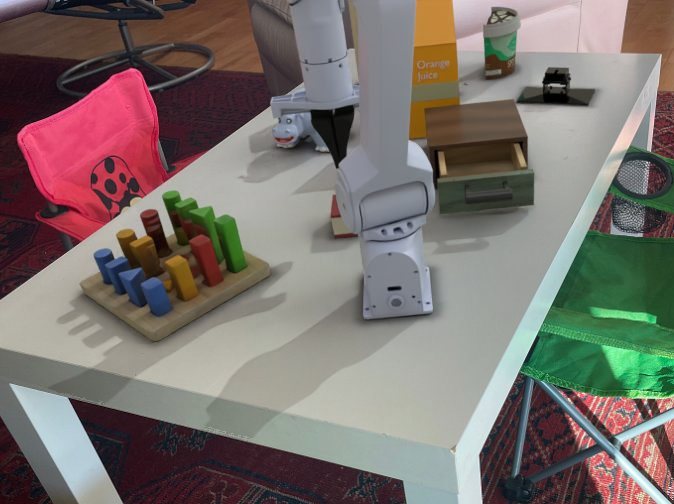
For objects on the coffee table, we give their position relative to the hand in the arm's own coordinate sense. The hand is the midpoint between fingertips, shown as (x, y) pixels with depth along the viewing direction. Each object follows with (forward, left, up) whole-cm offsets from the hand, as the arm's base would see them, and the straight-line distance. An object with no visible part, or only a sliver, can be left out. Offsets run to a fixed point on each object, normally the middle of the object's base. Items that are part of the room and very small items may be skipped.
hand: (341, 164), depth 97 cm
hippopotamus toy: (+29, +8, -9) cm, 31 cm away
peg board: (-11, +22, -9) cm, 26 cm away
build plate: (+39, -35, -9) cm, 53 cm away
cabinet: (+16, -18, -9) cm, 26 cm away
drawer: (+4, -19, -8) cm, 21 cm away
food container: (+55, -28, -9) cm, 62 cm away
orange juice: (+31, -13, -9) cm, 35 cm away
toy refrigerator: (+53, -4, -9) cm, 54 cm away
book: (0, 0, -9) cm, 9 cm away
